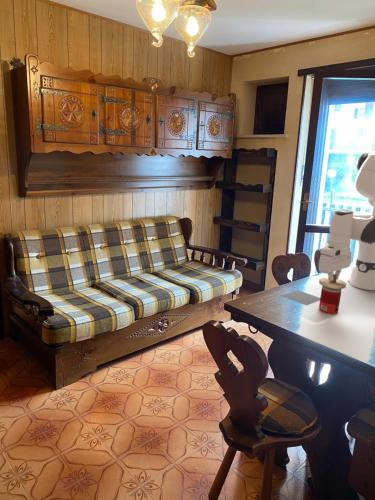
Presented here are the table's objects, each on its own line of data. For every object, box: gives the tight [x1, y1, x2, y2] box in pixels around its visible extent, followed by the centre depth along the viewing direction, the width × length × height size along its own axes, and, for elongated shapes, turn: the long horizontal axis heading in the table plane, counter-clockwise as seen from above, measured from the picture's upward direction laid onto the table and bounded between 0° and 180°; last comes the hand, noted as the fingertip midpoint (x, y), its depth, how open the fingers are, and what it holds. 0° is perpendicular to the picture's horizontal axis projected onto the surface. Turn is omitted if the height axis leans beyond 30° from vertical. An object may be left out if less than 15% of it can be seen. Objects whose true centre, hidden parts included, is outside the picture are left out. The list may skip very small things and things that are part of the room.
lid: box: [318, 273, 347, 290], centre depth 166 cm, size 11×11×4 cm
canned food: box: [318, 285, 342, 315], centre depth 168 cm, size 8×8×11 cm
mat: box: [280, 289, 320, 306], centre depth 183 cm, size 14×14×1 cm
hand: (333, 279), depth 166 cm, fingers closed on lid, 3 cm apart
